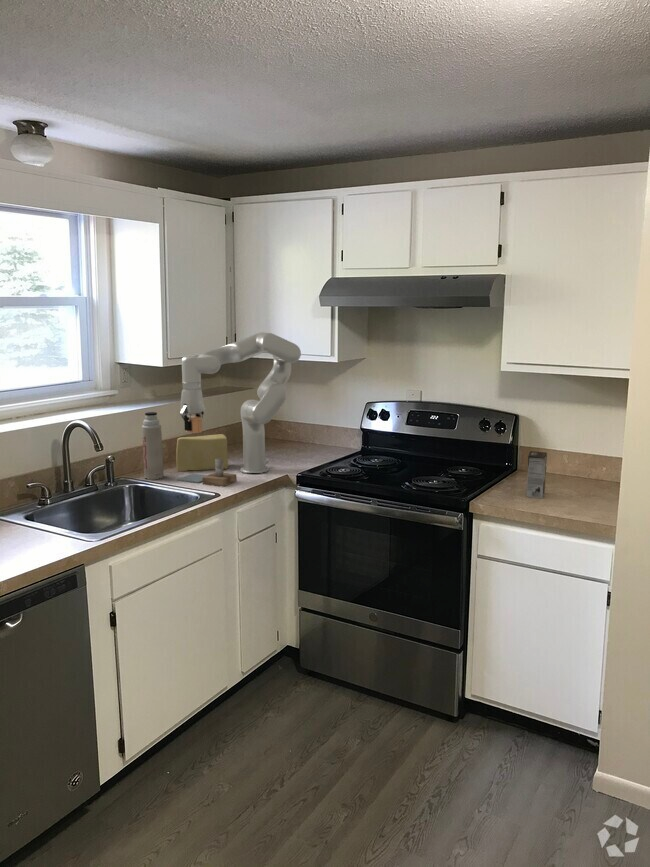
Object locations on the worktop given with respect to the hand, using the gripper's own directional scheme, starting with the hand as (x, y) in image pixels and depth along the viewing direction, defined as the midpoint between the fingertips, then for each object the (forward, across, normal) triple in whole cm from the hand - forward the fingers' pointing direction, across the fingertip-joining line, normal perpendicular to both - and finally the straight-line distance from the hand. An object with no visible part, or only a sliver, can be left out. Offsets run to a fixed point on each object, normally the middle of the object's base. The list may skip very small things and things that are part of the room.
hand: (193, 428), depth 300 cm
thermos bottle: (+22, +5, -18) cm, 29 cm away
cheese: (+22, -16, -8) cm, 29 cm away
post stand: (+22, +1, +13) cm, 25 cm away
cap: (+1, 0, 0) cm, 1 cm away
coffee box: (+22, -35, +134) cm, 140 cm away
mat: (+22, 0, 0) cm, 22 cm away
